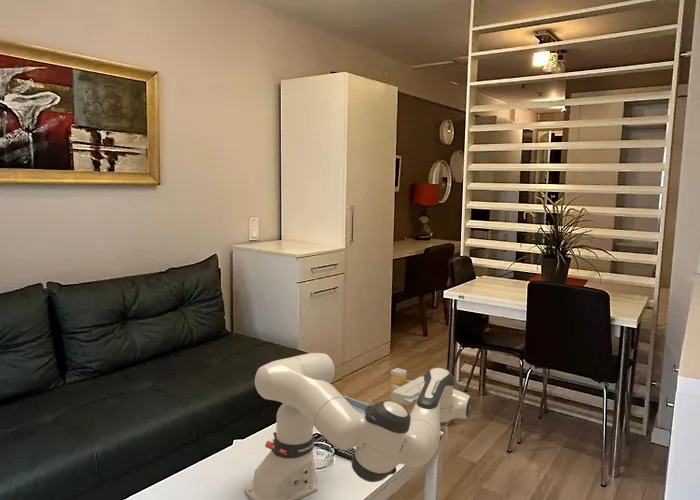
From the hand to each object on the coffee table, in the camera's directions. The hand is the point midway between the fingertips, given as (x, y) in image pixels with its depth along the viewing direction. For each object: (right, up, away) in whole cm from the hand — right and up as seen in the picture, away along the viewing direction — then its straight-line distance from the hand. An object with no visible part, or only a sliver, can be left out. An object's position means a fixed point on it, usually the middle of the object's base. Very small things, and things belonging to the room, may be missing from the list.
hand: (396, 384), depth 192 cm
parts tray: (-18, -16, +12) cm, 27 cm away
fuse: (+1, -8, 0) cm, 8 cm away
